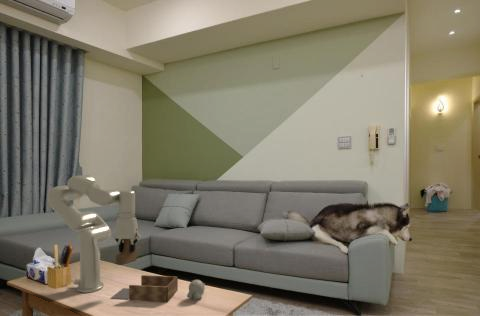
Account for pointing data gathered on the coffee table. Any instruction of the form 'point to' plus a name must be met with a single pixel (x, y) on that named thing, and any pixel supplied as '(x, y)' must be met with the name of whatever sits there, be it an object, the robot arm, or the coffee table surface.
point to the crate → (154, 289)
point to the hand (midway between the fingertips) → (126, 251)
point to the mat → (122, 294)
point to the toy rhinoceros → (196, 289)
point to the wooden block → (126, 253)
